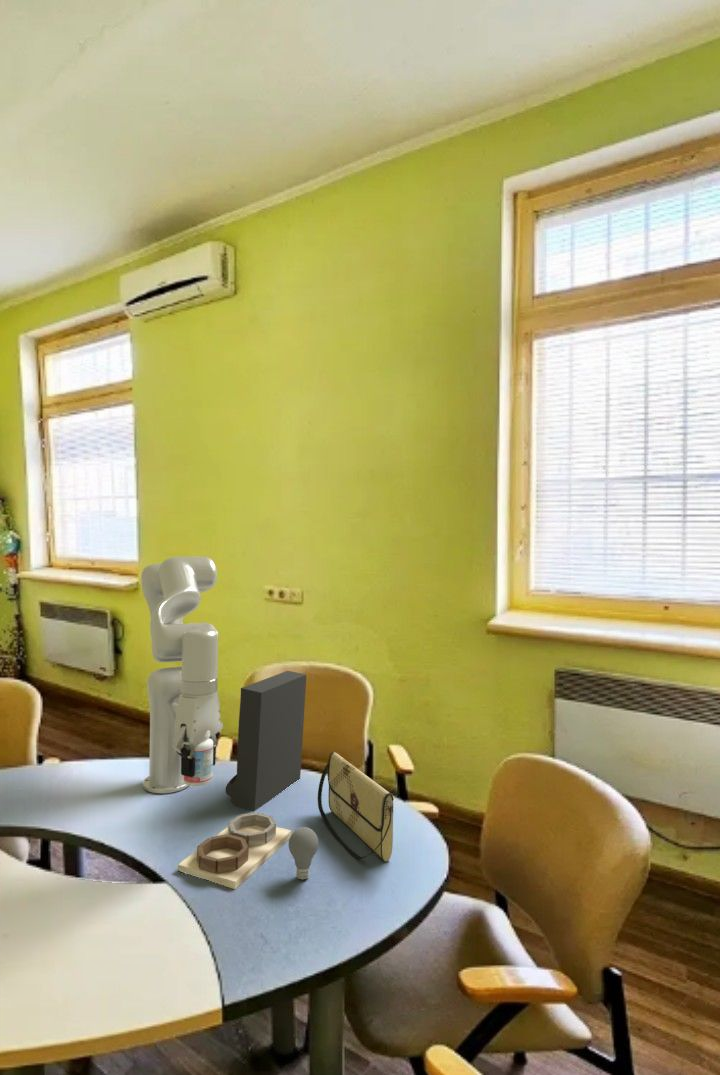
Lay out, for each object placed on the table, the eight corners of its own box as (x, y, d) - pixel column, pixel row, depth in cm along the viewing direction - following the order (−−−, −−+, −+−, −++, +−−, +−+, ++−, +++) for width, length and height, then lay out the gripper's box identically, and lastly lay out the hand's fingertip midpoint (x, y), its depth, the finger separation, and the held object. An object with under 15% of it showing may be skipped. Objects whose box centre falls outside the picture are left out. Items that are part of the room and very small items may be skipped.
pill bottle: (177, 783, 130) (178, 730, 130) (197, 773, 135) (198, 723, 135) (198, 789, 127) (199, 735, 127) (218, 779, 132) (219, 727, 132)
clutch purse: (309, 813, 151) (311, 753, 150) (335, 807, 154) (336, 748, 154) (369, 875, 125) (371, 802, 124) (398, 866, 128) (400, 795, 128)
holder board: (239, 823, 144) (239, 807, 144) (291, 836, 139) (291, 819, 139) (177, 871, 124) (178, 852, 124) (235, 889, 119) (235, 869, 118)
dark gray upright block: (271, 772, 174) (273, 668, 174) (304, 780, 169) (306, 673, 169) (223, 802, 155) (225, 685, 155) (259, 812, 150) (261, 691, 150)
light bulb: (304, 866, 127) (305, 818, 127) (323, 878, 123) (324, 829, 123) (281, 877, 123) (282, 828, 123) (300, 890, 119) (301, 839, 118)
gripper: (210, 676, 140) (209, 754, 140) (157, 694, 125) (156, 781, 125) (237, 680, 137) (236, 759, 137) (186, 698, 121) (185, 788, 122)
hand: (198, 769), depth 131 cm, fingers closed on pill bottle, 6 cm apart
